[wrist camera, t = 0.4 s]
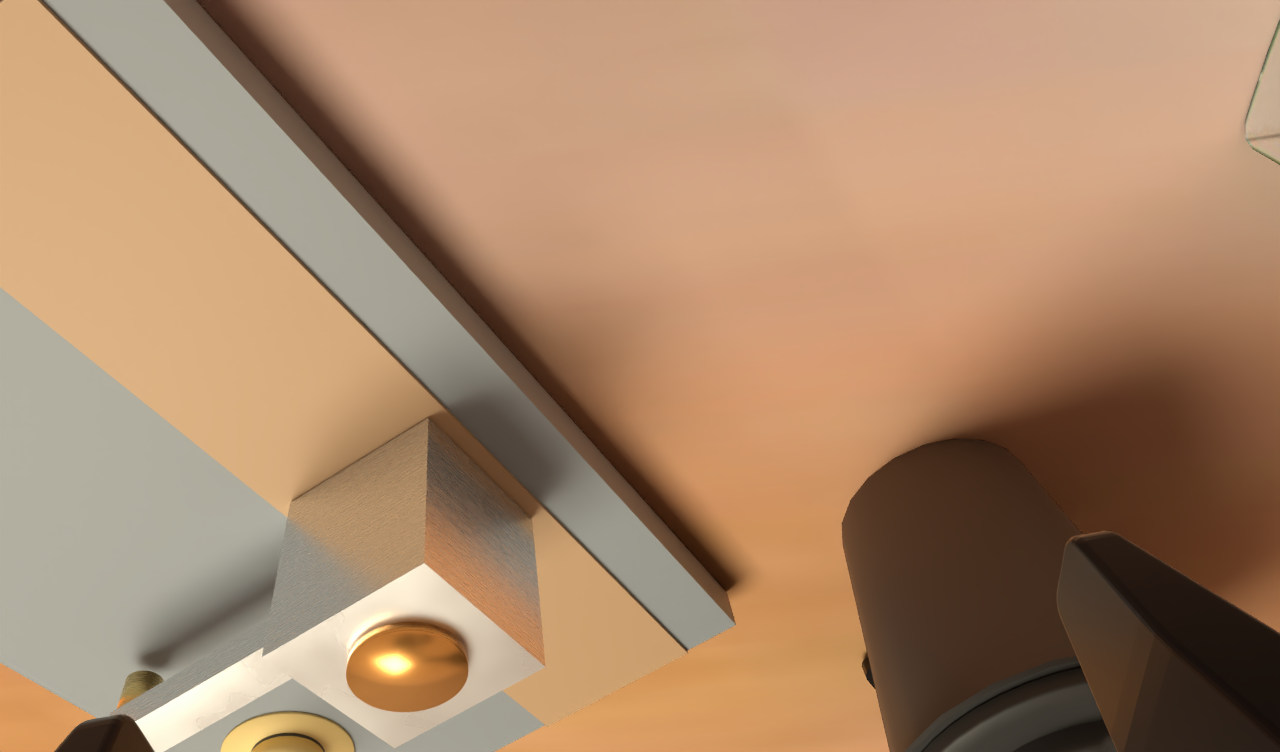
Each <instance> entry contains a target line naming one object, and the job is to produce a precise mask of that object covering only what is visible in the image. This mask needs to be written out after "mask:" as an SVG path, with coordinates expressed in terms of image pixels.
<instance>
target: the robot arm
mask: <svg viewBox="0 0 1280 752" xmlns="http://www.w3.org/2000/svg"><path fill="white" fill-rule="evenodd" d="M1057 606H1058V611H1059V614H1060V617H1061V620H1062V622H1063V625H1064V627H1065V630H1066V632H1067V634H1068V637H1069V639H1070V641H1071V644H1072V646H1073V649H1074V651H1075V653H1076V656H1077V658H1078V660H1079V663H1080V665H1081V668H1082V670H1083V672H1084V675H1085V677H1086V679H1087V682H1088V684H1089V687H1090V689H1091V691H1092V694H1093V696H1094V698H1095V701H1096V703H1097V706H1098V708H1099V710H1100V713H1101V715H1102V717H1103V720H1104V722H1105V725H1106V727H1107V729H1108V732H1109V734H1110V736H1111V739H1112V741H1113V743H1114V745H1115V748H1116V750H1117V752H1280V633H1279V632H1277V631H1275V630H1274V629H1272V628H1271V627H1269V626H1267V625H1266V624H1264V623H1262V622H1261V621H1259V620H1258V619H1256V618H1254V617H1253V616H1251V615H1249V614H1248V613H1246V612H1245V611H1243V610H1241V609H1240V608H1238V607H1236V606H1235V605H1233V604H1232V603H1230V602H1228V601H1227V600H1225V599H1223V598H1222V597H1220V596H1219V595H1217V594H1215V593H1214V592H1212V591H1210V590H1209V589H1207V588H1206V587H1204V586H1202V585H1201V584H1199V583H1197V582H1196V581H1194V580H1193V579H1191V578H1189V577H1188V576H1186V575H1184V574H1183V573H1181V572H1180V571H1178V570H1176V569H1175V568H1173V567H1171V566H1170V565H1168V564H1167V563H1165V562H1163V561H1162V560H1160V559H1158V558H1157V557H1155V556H1154V555H1152V554H1150V553H1149V552H1147V551H1145V550H1144V549H1142V548H1141V547H1139V546H1137V545H1136V544H1134V543H1132V542H1131V541H1129V540H1128V539H1126V538H1124V537H1123V536H1121V535H1119V534H1117V533H1115V532H1112V531H1099V532H1093V533H1088V534H1083V535H1077V536H1074V537H1071V538H1070V539H1069V540H1068V542H1067V543H1066V545H1065V549H1064V554H1063V560H1062V565H1061V571H1060V577H1059V582H1058V588H1057ZM862 668H863V670H864V673H865V675H866V678H867V680H868V681H869V682H870V684H871V685H872V686H873V687H874V688H875V684H874V680H873V676H872V671H871V667H870V662H869V658H868V657H866V658H865V659H864V661H863V662H862ZM875 690H876V689H875ZM54 752H155V751H154V750H153V748H152V746H151V745H150V743H149V742H148V740H147V739H146V737H145V736H144V734H143V733H142V731H141V730H140V728H139V726H138V725H137V723H136V722H135V721H134V720H133V718H131V717H129V716H128V715H125V714H118V715H113V716H107V717H102V718H97V719H91V720H88V721H85V722H83V723H81V724H79V725H78V726H77V727H76V728H74V729H73V731H72V732H71V733H70V734H69V735H68V736H67V737H66V738H65V740H64V741H63V742H62V743H61V744H60V745H59V747H58V748H57V749H56V750H55V751H54Z"/></svg>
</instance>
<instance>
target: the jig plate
mask: <svg viewBox="0 0 1280 752" xmlns="http://www.w3.org/2000/svg"><path fill="white" fill-rule="evenodd" d="M427 418H429V419H430V420H431V421H432V422H433V423H434V424H436V425H437V426H438V427H439V428H440V429H441V430H442V431H443V432H444V433H445V434H446V435H447V436H448V437H449V438H450V439H451V440H452V441H453V442H454V443H455V444H456V445H457V446H458V447H459V448H460V449H461V450H462V451H463V452H464V453H465V454H466V455H467V456H468V457H469V458H470V459H471V460H472V461H473V462H474V463H475V464H476V465H477V466H478V467H479V468H480V469H481V470H482V471H483V472H484V473H485V474H486V475H487V476H488V477H489V478H490V479H491V480H492V481H493V482H495V483H496V484H497V485H498V486H499V487H500V488H501V489H502V490H503V491H504V492H505V493H506V494H507V495H508V496H509V497H510V498H511V499H512V500H513V501H514V502H515V503H516V504H517V505H518V506H519V507H520V508H521V509H522V510H523V511H524V512H525V513H526V514H527V515H528V516H529V517H530V518H531V519H532V522H533V533H534V544H535V555H536V566H537V577H538V588H539V599H540V610H541V621H542V632H543V643H544V654H545V665H546V667H545V668H543V669H541V670H539V671H537V672H536V673H534V674H532V675H530V676H528V677H526V678H524V679H523V680H521V681H519V682H517V683H515V684H513V685H511V686H510V687H508V688H506V689H504V690H502V691H500V692H498V693H497V694H495V695H493V696H491V697H489V698H487V699H485V700H484V701H482V702H480V703H478V704H476V705H474V706H472V707H471V708H469V709H467V710H465V711H463V712H461V713H459V714H458V715H456V716H454V717H452V718H450V719H448V720H446V721H445V722H443V723H441V724H439V725H437V726H435V727H433V728H432V729H430V730H428V731H426V732H424V733H422V734H420V735H419V736H417V737H415V738H413V739H411V740H409V741H407V742H406V743H404V744H402V745H400V746H398V747H396V748H393V747H392V746H390V745H389V744H387V743H386V742H385V741H383V740H382V739H380V738H379V737H377V736H376V735H374V734H373V733H371V732H370V731H368V730H367V729H366V728H364V727H363V726H361V725H360V724H358V723H357V722H355V721H354V720H352V719H351V718H349V717H348V716H347V715H345V714H344V713H342V712H341V711H339V710H338V709H336V708H335V707H333V706H332V705H331V704H329V703H328V702H326V701H325V700H323V699H322V698H320V697H319V696H317V695H316V694H314V693H313V692H312V691H310V690H309V689H307V688H306V687H304V686H303V685H301V684H300V683H298V682H297V681H295V680H294V679H293V678H292V679H290V680H288V681H287V682H285V683H283V684H281V685H280V686H278V687H276V688H274V689H273V690H271V691H269V692H267V693H266V694H264V695H262V696H260V697H259V698H257V699H255V700H253V701H252V702H250V703H248V704H246V705H245V706H243V707H241V708H239V709H238V710H236V711H234V712H232V713H231V714H229V715H227V716H225V717H224V718H222V719H220V720H218V721H217V722H215V723H213V724H211V725H210V726H208V727H206V728H204V729H203V730H201V731H199V732H197V733H196V734H194V735H192V736H190V737H189V738H187V739H185V740H183V741H182V742H180V743H178V744H176V745H175V746H173V747H171V748H169V749H168V750H166V751H164V752H495V751H497V750H498V749H500V748H502V747H504V746H506V745H508V744H510V743H512V742H514V741H516V740H518V739H519V738H521V737H523V736H525V735H527V734H529V733H531V732H533V731H535V730H537V729H539V728H540V727H542V726H544V725H546V726H547V727H548V726H550V725H552V724H554V723H556V722H558V721H560V720H561V719H563V718H565V717H567V716H569V715H571V714H573V713H575V712H577V711H579V710H581V709H582V708H584V707H586V706H588V705H590V704H592V703H594V702H596V701H598V700H600V699H602V698H603V697H605V696H607V695H609V694H611V693H613V692H615V691H617V690H619V689H621V688H623V687H624V686H626V685H628V684H630V683H632V682H634V681H636V680H638V679H640V678H642V677H644V676H645V675H647V674H649V673H651V672H653V671H655V670H657V669H659V668H661V667H663V666H665V665H666V664H668V663H670V662H672V661H674V660H676V659H678V658H680V657H682V656H684V655H686V654H687V653H688V652H687V650H689V649H691V648H693V647H695V646H697V645H699V644H701V643H702V642H704V641H706V640H708V639H710V638H712V637H714V636H716V635H718V634H720V633H722V632H723V631H725V630H727V629H729V628H731V627H733V626H735V625H736V623H735V620H734V616H733V613H732V609H731V606H730V602H729V599H728V595H727V593H726V591H725V590H724V589H723V588H722V587H721V586H720V585H719V584H718V583H717V581H716V580H715V579H714V578H713V577H712V576H711V575H710V574H709V572H708V571H707V570H706V569H705V568H704V567H703V566H702V565H701V564H700V562H699V561H698V560H697V559H696V558H695V557H694V556H693V555H692V553H691V552H690V551H689V550H688V549H687V548H686V547H685V546H684V545H683V543H682V542H681V541H680V540H679V539H678V538H677V537H676V536H675V535H674V533H673V532H672V531H671V530H670V529H669V528H668V527H667V526H666V524H665V523H664V522H663V521H662V520H661V519H660V518H659V517H658V516H657V514H656V513H655V512H654V511H653V510H652V509H651V508H650V507H649V506H648V504H647V503H646V502H645V501H644V500H643V499H642V498H641V497H640V495H639V494H638V493H637V492H636V491H635V490H634V489H633V488H632V487H631V485H630V484H629V483H628V482H627V481H626V480H625V479H624V478H623V477H622V475H621V474H620V473H619V472H618V471H617V470H616V469H615V468H614V466H613V465H612V464H611V463H610V462H609V461H608V460H607V459H606V458H605V456H604V455H603V454H602V453H601V452H600V451H599V450H598V449H597V448H596V446H595V445H594V444H593V443H592V442H591V441H590V440H589V439H588V437H587V436H586V435H585V434H584V433H583V432H582V431H581V430H580V429H579V427H578V426H577V425H576V424H575V423H574V422H573V421H572V420H571V419H570V417H569V416H568V415H567V414H566V413H565V412H564V411H563V410H562V408H561V407H560V406H559V405H558V404H557V403H556V402H555V401H554V400H553V398H552V397H551V396H550V395H549V394H548V393H547V392H546V391H545V389H544V388H543V387H542V386H541V385H540V384H539V383H538V382H537V381H536V379H535V378H534V377H533V376H532V375H531V374H530V373H529V372H528V371H527V369H526V368H525V367H524V366H523V365H522V364H521V363H520V362H519V360H518V359H517V358H516V357H515V356H514V355H513V354H512V353H511V352H510V350H509V349H508V348H507V347H506V346H505V345H504V344H503V343H502V342H501V340H500V339H499V338H498V337H497V336H496V335H495V334H494V333H493V331H492V330H491V329H490V328H489V327H488V326H487V325H486V324H485V323H484V321H483V320H482V319H481V318H480V317H479V316H478V315H477V314H476V313H475V311H474V310H473V309H472V308H471V307H470V306H469V305H468V304H467V302H466V301H465V300H464V299H463V298H462V297H461V296H460V295H459V294H458V292H457V291H456V290H455V289H454V288H453V287H452V286H451V285H450V284H449V282H448V281H447V280H446V279H445V278H444V277H443V276H442V275H441V273H440V272H439V271H438V270H437V269H436V268H435V267H434V266H433V265H432V263H431V262H430V261H429V260H428V259H427V258H426V257H425V256H424V254H423V253H422V252H421V251H420V250H419V249H418V248H417V247H416V246H415V244H414V243H413V242H412V241H411V240H410V239H409V238H408V237H407V236H406V234H405V233H404V232H403V231H402V230H401V229H400V228H399V227H398V225H397V224H396V223H395V222H394V221H393V220H392V219H391V218H390V217H389V215H388V214H387V213H386V212H385V211H384V210H383V209H382V208H381V207H380V205H379V204H378V203H377V202H376V201H375V200H374V199H373V198H372V196H371V195H370V194H369V193H368V192H367V191H366V190H365V189H364V188H363V186H362V185H361V184H360V183H359V182H358V181H357V180H356V179H355V178H354V176H353V175H352V174H351V173H350V172H349V171H348V170H347V169H346V167H345V166H344V165H343V164H342V163H341V162H340V161H339V160H338V159H337V157H336V156H335V155H334V154H333V153H332V152H331V151H330V150H329V149H328V147H327V146H326V145H325V144H324V143H323V142H322V141H321V140H320V138H319V137H318V136H317V135H316V134H315V133H314V132H313V131H312V130H311V128H310V127H309V126H308V125H307V124H306V123H305V122H304V121H303V119H302V118H301V117H300V116H299V115H298V114H297V113H296V112H295V111H294V109H293V108H292V107H291V106H290V105H289V104H288V103H287V102H286V101H285V99H284V98H283V97H282V96H281V95H280V94H279V93H278V92H277V90H276V89H275V88H274V87H273V86H272V85H271V84H270V83H269V82H268V80H267V79H266V78H265V77H264V76H263V75H262V74H261V73H260V72H259V70H258V69H257V68H256V67H255V66H254V65H253V64H252V63H251V61H250V60H249V59H248V58H247V57H246V56H245V55H244V54H243V53H242V51H241V50H240V49H239V48H238V47H237V46H236V45H235V44H234V43H233V41H232V40H231V39H230V38H229V37H228V36H227V35H226V34H225V32H224V31H223V30H222V29H221V28H220V27H219V26H218V25H217V24H216V22H215V21H214V20H213V19H212V18H211V17H210V16H209V15H208V14H207V12H206V11H205V10H204V9H203V8H202V7H201V6H200V5H199V3H198V2H197V1H196V0H2V1H1V2H0V663H2V664H4V665H5V666H7V667H9V668H11V669H12V670H14V671H16V672H18V673H19V674H21V675H23V676H25V677H26V678H28V679H30V680H32V681H33V682H35V683H37V684H39V685H40V686H42V687H44V688H46V689H47V690H49V691H51V692H53V693H54V694H56V695H58V696H60V697H61V698H63V699H65V700H67V701H68V702H70V703H72V704H74V705H75V706H77V707H79V708H81V709H82V710H84V711H86V712H88V713H89V714H91V715H93V716H95V717H96V718H102V717H107V716H109V715H110V713H111V712H113V711H114V710H116V709H117V706H118V703H119V700H120V696H121V693H122V690H123V687H124V684H125V680H126V678H127V676H128V675H129V674H131V673H133V672H136V671H151V672H154V673H157V674H158V675H160V676H161V677H162V678H163V680H164V681H165V680H167V679H169V678H170V677H172V676H174V675H175V674H177V673H179V672H180V671H182V670H184V669H186V668H187V667H189V666H191V665H192V664H194V663H196V662H197V661H199V660H201V659H203V658H204V657H206V656H208V655H209V654H211V653H213V652H214V651H216V650H218V649H220V648H221V647H223V646H225V645H226V644H228V643H230V642H231V641H233V640H235V639H236V638H238V637H240V636H242V635H243V634H245V633H247V632H248V631H250V630H252V629H253V628H255V627H257V626H259V625H260V624H262V623H264V622H265V621H267V620H269V615H270V609H271V604H272V598H273V593H274V587H275V582H276V577H277V571H278V566H279V560H280V555H281V549H282V544H283V538H284V533H285V527H286V522H287V517H288V511H289V506H290V502H292V501H294V500H295V499H297V498H299V497H300V496H302V495H303V494H305V493H307V492H308V491H310V490H312V489H313V488H315V487H316V486H318V485H320V484H321V483H323V482H325V481H326V480H328V479H329V478H331V477H333V476H334V475H336V474H338V473H339V472H341V471H342V470H344V469H346V468H347V467H349V466H351V465H352V464H354V463H355V462H357V461H359V460H360V459H362V458H364V457H365V456H367V455H368V454H370V453H372V452H373V451H375V450H377V449H378V448H380V447H381V446H383V445H385V444H386V443H388V442H390V441H391V440H393V439H394V438H396V437H398V436H399V435H401V434H402V433H404V432H406V431H407V430H409V429H411V428H412V427H414V426H415V425H417V424H419V423H420V422H422V421H424V420H425V419H427Z"/></svg>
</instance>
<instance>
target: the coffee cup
mask: <svg viewBox="0 0 1280 752" xmlns="http://www.w3.org/2000/svg"><path fill="white" fill-rule="evenodd" d="M1077 535H1083V534H1082V533H1081V532H1080V530H1079V529H1078V528H1077V527H1076V526H1075V525H1074V523H1073V522H1072V521H1071V520H1070V519H1069V518H1068V516H1067V515H1066V514H1065V513H1064V512H1063V511H1062V509H1061V508H1060V507H1059V506H1058V505H1057V503H1056V502H1055V501H1054V500H1053V499H1052V498H1051V496H1050V495H1049V494H1048V493H1047V492H1046V491H1045V489H1044V488H1043V487H1042V486H1041V485H1040V484H1039V482H1038V481H1037V480H1036V479H1035V478H1034V477H1033V475H1032V474H1031V473H1030V472H1029V471H1028V470H1027V468H1026V467H1025V466H1024V465H1023V464H1022V463H1021V462H1020V461H1019V460H1018V459H1017V458H1016V457H1015V456H1014V455H1013V454H1012V453H1011V452H1010V451H1008V450H1007V449H1006V448H1003V447H1000V446H998V445H995V444H992V443H990V442H987V441H984V440H970V439H951V440H946V441H941V442H936V443H931V444H926V445H922V446H920V447H918V448H916V449H914V450H911V451H909V452H907V453H905V454H903V455H900V456H898V457H896V458H894V459H892V460H891V461H890V462H888V463H887V464H886V465H884V466H883V467H882V468H881V469H879V470H878V471H877V472H875V473H874V474H873V475H871V476H870V477H869V478H868V479H867V480H866V481H865V483H864V484H863V485H862V486H861V488H860V489H859V490H858V491H857V493H856V494H855V495H854V497H853V498H852V499H851V500H850V503H849V506H848V508H847V511H846V514H845V516H844V519H843V522H842V540H843V548H844V553H845V557H846V562H847V566H848V570H849V575H850V579H851V583H852V588H853V592H854V597H855V601H856V605H857V610H858V614H859V619H860V623H861V627H862V632H863V636H864V641H865V645H866V649H867V654H868V658H869V662H870V667H871V671H872V676H873V680H874V684H875V689H876V693H877V698H878V702H879V706H880V711H881V715H882V720H883V724H884V728H885V733H886V737H887V742H888V746H889V750H890V752H1117V750H1116V748H1115V745H1114V743H1113V741H1112V739H1111V736H1110V734H1109V732H1108V729H1107V727H1106V725H1105V722H1104V720H1103V717H1102V715H1101V713H1100V710H1099V708H1098V706H1097V703H1096V701H1095V698H1094V696H1093V694H1092V691H1091V689H1090V687H1089V684H1088V682H1087V679H1086V677H1085V675H1084V672H1083V670H1082V668H1081V665H1080V663H1079V660H1078V658H1077V656H1076V653H1075V651H1074V649H1073V646H1072V644H1071V641H1070V639H1069V637H1068V634H1067V632H1066V630H1065V627H1064V625H1063V622H1062V620H1061V617H1060V614H1059V611H1058V606H1057V588H1058V582H1059V577H1060V571H1061V565H1062V560H1063V554H1064V549H1065V545H1066V543H1067V542H1068V540H1069V539H1070V538H1071V537H1074V536H1077Z"/></svg>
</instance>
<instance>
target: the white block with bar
mask: <svg viewBox="0 0 1280 752" xmlns="http://www.w3.org/2000/svg"><path fill="white" fill-rule="evenodd" d="M545 667H546V665H545V654H544V643H543V632H542V621H541V610H540V599H539V588H538V577H537V566H536V555H535V544H534V533H533V522H532V519H531V518H530V517H529V516H528V515H527V514H526V513H525V512H524V511H523V510H522V509H521V508H520V507H519V506H518V505H517V504H516V503H515V502H514V501H513V500H512V499H511V498H510V497H509V496H508V495H507V494H506V493H505V492H504V491H503V490H502V489H501V488H500V487H499V486H498V485H497V484H496V483H495V482H493V481H492V480H491V479H490V478H489V477H488V476H487V475H486V474H485V473H484V472H483V471H482V470H481V469H480V468H479V467H478V466H477V465H476V464H475V463H474V462H473V461H472V460H471V459H470V458H469V457H468V456H467V455H466V454H465V453H464V452H463V451H462V450H461V449H460V448H459V447H458V446H457V445H456V444H455V443H454V442H453V441H452V440H451V439H450V438H449V437H448V436H447V435H446V434H445V433H444V432H443V431H442V430H441V429H440V428H439V427H438V426H437V425H436V424H434V423H433V422H432V421H431V420H430V419H429V418H427V419H425V420H424V421H422V422H420V423H419V424H417V425H415V426H414V427H412V428H411V429H409V430H407V431H406V432H404V433H402V434H401V435H399V436H398V437H396V438H394V439H393V440H391V441H390V442H388V443H386V444H385V445H383V446H381V447H380V448H378V449H377V450H375V451H373V452H372V453H370V454H368V455H367V456H365V457H364V458H362V459H360V460H359V461H357V462H355V463H354V464H352V465H351V466H349V467H347V468H346V469H344V470H342V471H341V472H339V473H338V474H336V475H334V476H333V477H331V478H329V479H328V480H326V481H325V482H323V483H321V484H320V485H318V486H316V487H315V488H313V489H312V490H310V491H308V492H307V493H305V494H303V495H302V496H300V497H299V498H297V499H295V500H294V501H292V502H290V506H289V511H288V517H287V522H286V527H285V533H284V538H283V544H282V549H281V555H280V560H279V566H278V571H277V577H276V582H275V587H274V593H273V598H272V604H271V609H270V615H269V620H267V621H265V622H264V623H262V624H260V625H259V626H257V627H255V628H253V629H252V630H250V631H248V632H247V633H245V634H243V635H242V636H240V637H238V638H236V639H235V640H233V641H231V642H230V643H228V644H226V645H225V646H223V647H221V648H220V649H218V650H216V651H214V652H213V653H211V654H209V655H208V656H206V657H204V658H203V659H201V660H199V661H197V662H196V663H194V664H192V665H191V666H189V667H187V668H186V669H184V670H182V671H180V672H179V673H177V674H175V675H174V676H172V677H170V678H169V679H167V680H165V681H164V680H163V678H162V677H161V676H160V675H158V674H157V673H154V672H151V671H136V672H133V673H131V674H129V675H128V676H127V678H126V680H125V684H124V687H123V690H122V693H121V696H120V700H119V703H118V706H117V709H116V710H114V711H113V712H111V713H110V715H109V716H113V715H118V714H125V715H128V716H129V717H131V718H133V720H134V721H135V722H136V723H137V725H138V726H139V728H140V730H141V731H142V733H143V734H144V736H145V737H146V739H147V740H148V742H149V743H150V745H151V746H152V748H153V750H154V751H155V752H164V751H166V750H168V749H169V748H171V747H173V746H175V745H176V744H178V743H180V742H182V741H183V740H185V739H187V738H189V737H190V736H192V735H194V734H196V733H197V732H199V731H201V730H203V729H204V728H206V727H208V726H210V725H211V724H213V723H215V722H217V721H218V720H220V719H222V718H224V717H225V716H227V715H229V714H231V713H232V712H234V711H236V710H238V709H239V708H241V707H243V706H245V705H246V704H248V703H250V702H252V701H253V700H255V699H257V698H259V697H260V696H262V695H264V694H266V693H267V692H269V691H271V690H273V689H274V688H276V687H278V686H280V685H281V684H283V683H285V682H287V681H288V680H290V679H292V678H293V679H294V680H295V681H297V682H298V683H300V684H301V685H303V686H304V687H306V688H307V689H309V690H310V691H312V692H313V693H314V694H316V695H317V696H319V697H320V698H322V699H323V700H325V701H326V702H328V703H329V704H331V705H332V706H333V707H335V708H336V709H338V710H339V711H341V712H342V713H344V714H345V715H347V716H348V717H349V718H351V719H352V720H354V721H355V722H357V723H358V724H360V725H361V726H363V727H364V728H366V729H367V730H368V731H370V732H371V733H373V734H374V735H376V736H377V737H379V738H380V739H382V740H383V741H385V742H386V743H387V744H389V745H390V746H392V747H393V748H396V747H398V746H400V745H402V744H404V743H406V742H407V741H409V740H411V739H413V738H415V737H417V736H419V735H420V734H422V733H424V732H426V731H428V730H430V729H432V728H433V727H435V726H437V725H439V724H441V723H443V722H445V721H446V720H448V719H450V718H452V717H454V716H456V715H458V714H459V713H461V712H463V711H465V710H467V709H469V708H471V707H472V706H474V705H476V704H478V703H480V702H482V701H484V700H485V699H487V698H489V697H491V696H493V695H495V694H497V693H498V692H500V691H502V690H504V689H506V688H508V687H510V686H511V685H513V684H515V683H517V682H519V681H521V680H523V679H524V678H526V677H528V676H530V675H532V674H534V673H536V672H537V671H539V670H541V669H543V668H545Z"/></svg>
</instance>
